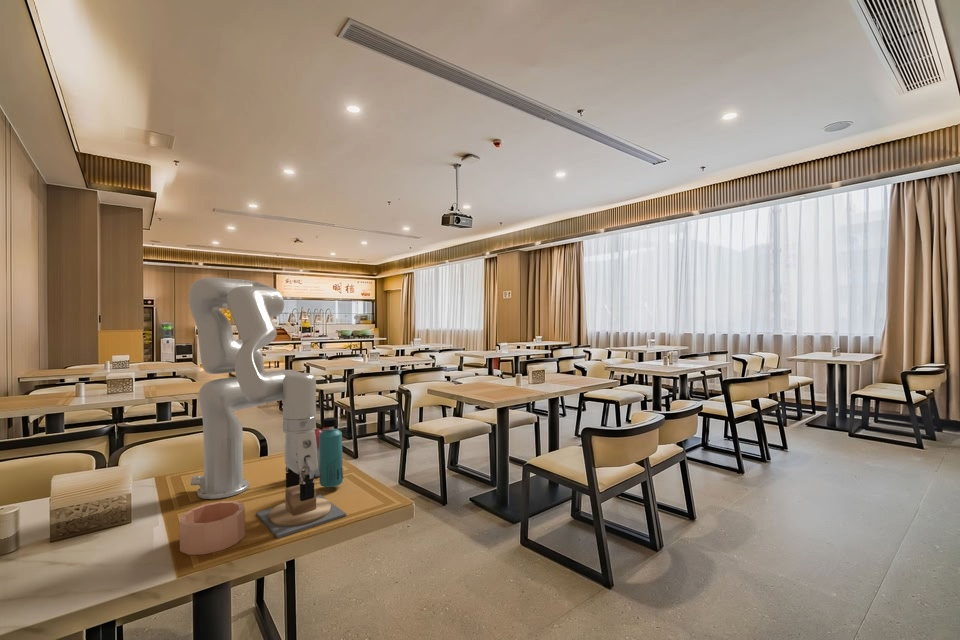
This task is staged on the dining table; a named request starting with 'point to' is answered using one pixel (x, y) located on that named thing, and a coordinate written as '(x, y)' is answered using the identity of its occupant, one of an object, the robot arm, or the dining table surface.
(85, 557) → the dining table surface
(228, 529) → the bowl
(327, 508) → the lid
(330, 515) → the mat
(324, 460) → the beverage bottle
